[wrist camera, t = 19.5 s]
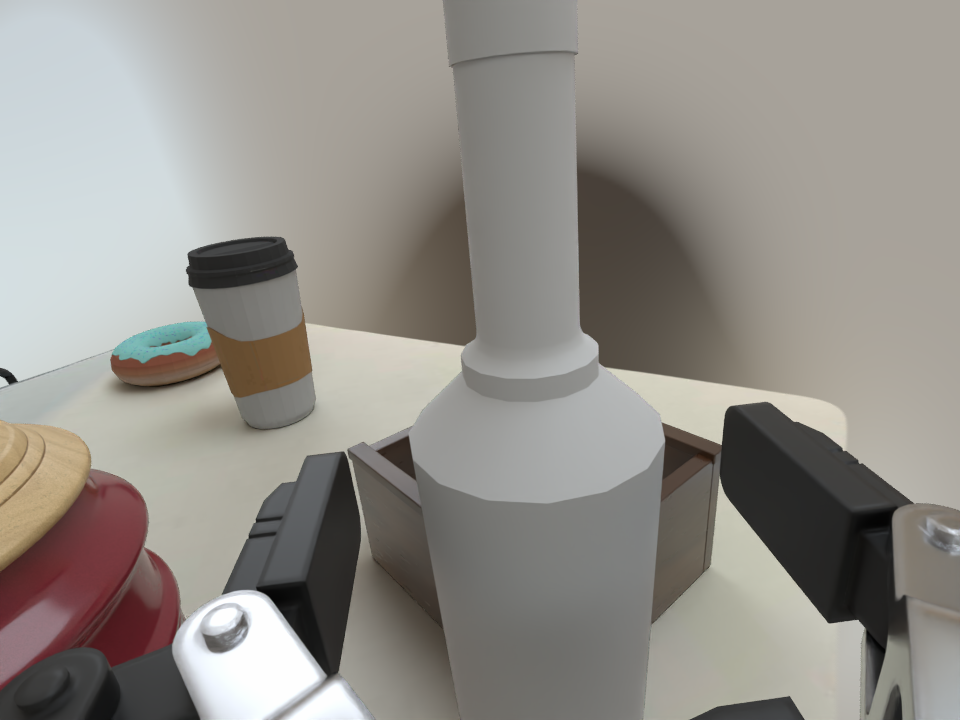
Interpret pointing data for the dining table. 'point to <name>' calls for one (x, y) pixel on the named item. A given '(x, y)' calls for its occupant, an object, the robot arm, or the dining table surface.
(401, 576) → the crate
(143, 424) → the dining table surface
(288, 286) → the coffee cup
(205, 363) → the donut
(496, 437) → the bottle
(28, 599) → the kitchen canister
